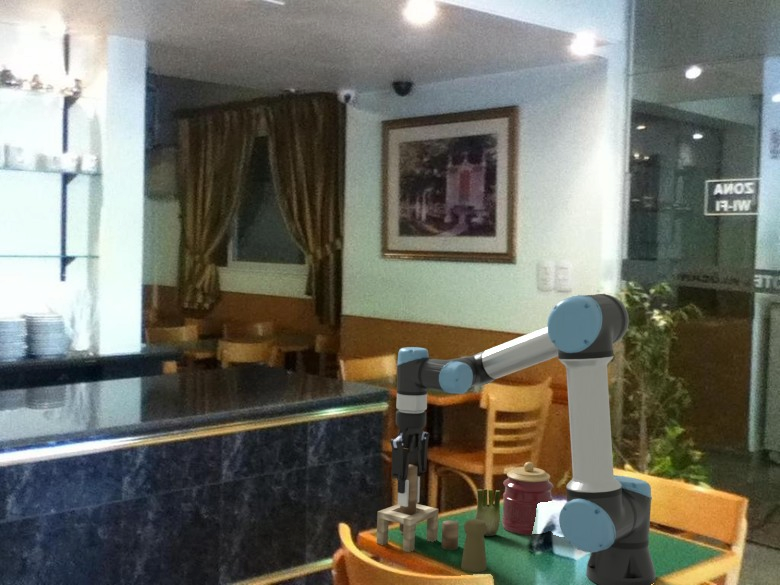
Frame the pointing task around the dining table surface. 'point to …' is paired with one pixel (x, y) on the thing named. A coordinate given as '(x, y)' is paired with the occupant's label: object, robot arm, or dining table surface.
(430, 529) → the open square stand
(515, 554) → the dining table surface
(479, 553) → the olive tapered knobbed peg
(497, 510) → the fennel bulb
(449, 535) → the short pin
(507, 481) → the canister
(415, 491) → the long pin
